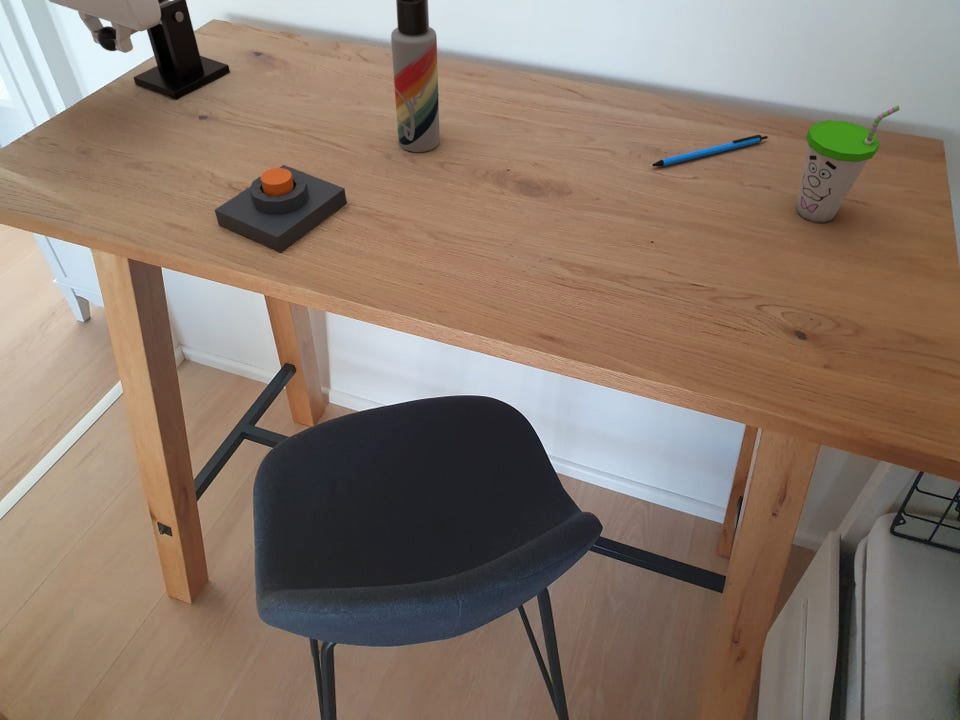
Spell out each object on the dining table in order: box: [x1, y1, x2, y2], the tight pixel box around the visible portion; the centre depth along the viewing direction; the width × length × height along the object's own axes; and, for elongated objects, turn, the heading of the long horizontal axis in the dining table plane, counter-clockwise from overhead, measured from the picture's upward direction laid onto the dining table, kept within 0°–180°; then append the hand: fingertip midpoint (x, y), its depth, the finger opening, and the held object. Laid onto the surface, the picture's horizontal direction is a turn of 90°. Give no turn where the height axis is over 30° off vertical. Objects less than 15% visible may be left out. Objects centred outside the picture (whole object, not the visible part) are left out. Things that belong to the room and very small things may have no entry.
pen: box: [650, 134, 769, 167], centre depth 104 cm, size 1×19×1 cm, turn 114°
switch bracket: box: [133, 0, 231, 100], centre depth 115 cm, size 11×9×12 cm
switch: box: [97, 0, 171, 52], centre depth 109 cm, size 13×3×3 cm, turn 148°
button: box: [260, 167, 294, 196], centre depth 91 cm, size 4×4×2 cm
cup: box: [795, 105, 900, 224], centre depth 90 cm, size 8×8×15 cm
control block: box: [214, 164, 348, 253], centre depth 92 cm, size 12×10×4 cm
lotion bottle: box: [390, 0, 440, 153], centre depth 99 cm, size 6×6×20 cm
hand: (114, 46), depth 107 cm, fingers closed on switch, 3 cm apart
